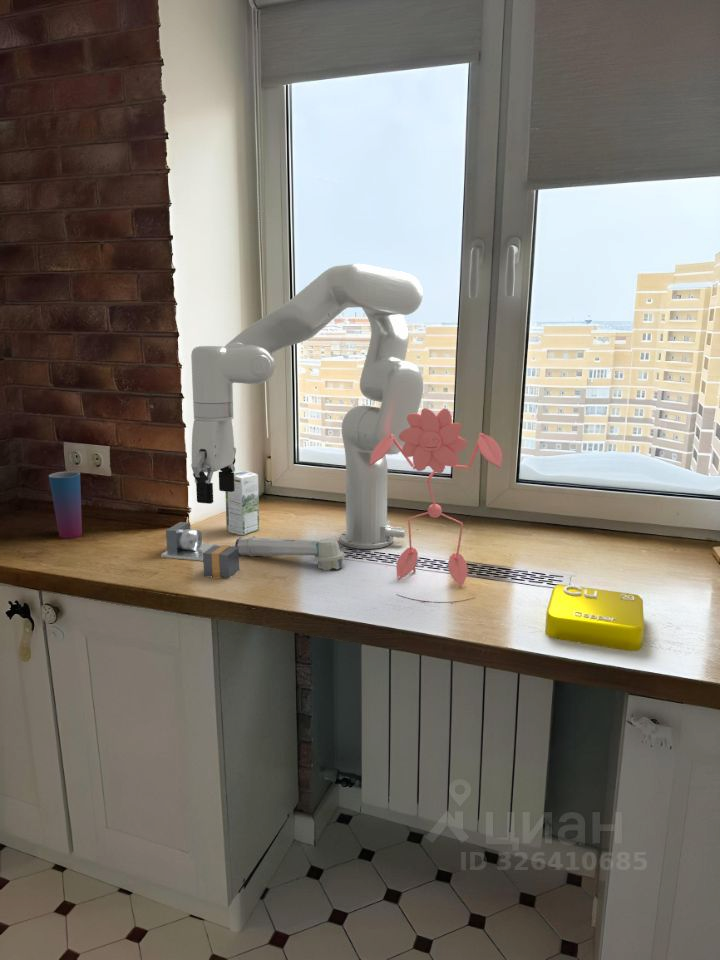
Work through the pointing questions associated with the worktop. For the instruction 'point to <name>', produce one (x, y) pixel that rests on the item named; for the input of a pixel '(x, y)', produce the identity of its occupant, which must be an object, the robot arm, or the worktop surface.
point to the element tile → (595, 617)
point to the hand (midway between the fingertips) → (216, 496)
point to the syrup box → (243, 504)
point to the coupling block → (221, 561)
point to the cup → (67, 502)
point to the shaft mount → (185, 543)
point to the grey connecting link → (294, 549)
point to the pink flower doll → (436, 448)
